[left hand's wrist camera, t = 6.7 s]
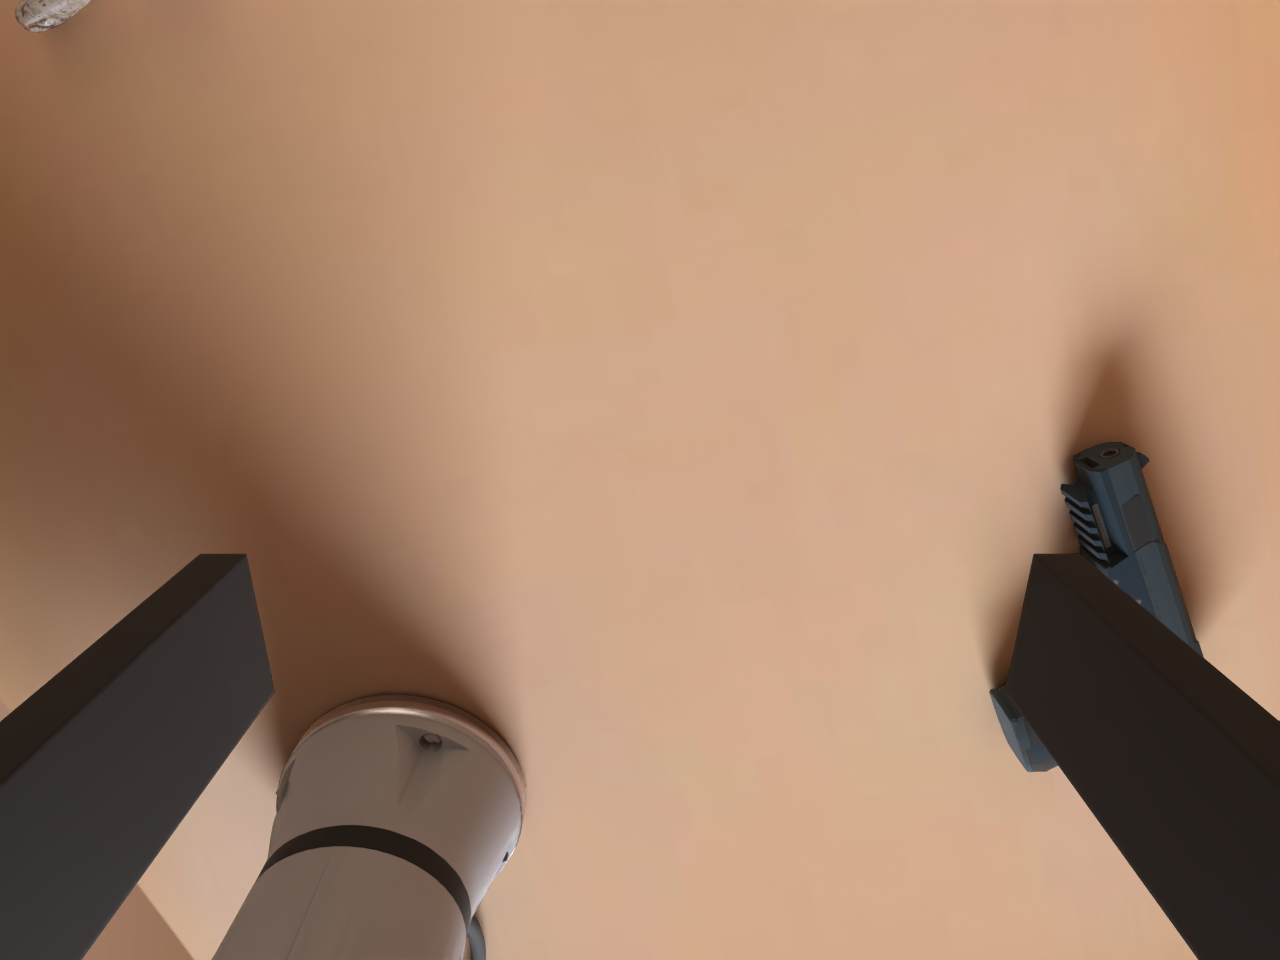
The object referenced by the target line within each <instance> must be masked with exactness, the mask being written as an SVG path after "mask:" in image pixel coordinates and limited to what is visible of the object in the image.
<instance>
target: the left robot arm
mask: <svg viewBox="0 0 1280 960" xmlns="http://www.w3.org/2000/svg"><path fill="white" fill-rule="evenodd" d="M274 692H275V691H274V686H273V681H272V676H271V671H270V666H269V661H268V657H267V652H266V647H265V642H264V637H263V632H262V628H261V623H260V618H259V613H258V608H257V603H256V599H255V594H254V589H253V584H252V579H251V574H250V570H249V565H248V560H247V555H246V554H200V555H198V556H197V557H196V558H195V559H194V560H192V561H191V562H190V563H189V564H188V565H186V566H185V567H184V568H183V569H182V570H181V571H179V572H178V573H177V574H176V575H175V576H173V577H172V578H171V579H170V580H169V581H167V582H166V583H165V584H164V585H163V586H161V587H160V588H159V589H158V590H157V591H156V592H154V593H153V594H152V595H151V596H150V597H148V598H147V599H146V600H145V601H144V602H142V603H141V604H140V605H139V606H138V607H136V608H135V609H134V610H133V611H132V612H130V613H129V614H128V615H127V616H126V617H125V618H123V619H122V620H121V621H120V622H119V623H117V624H116V625H115V626H114V627H113V628H111V629H110V630H109V631H108V632H107V633H105V634H104V635H103V636H102V637H101V638H100V639H98V640H97V641H96V642H95V643H94V644H92V645H91V646H90V647H89V648H88V649H86V650H85V651H84V652H83V653H82V654H80V655H79V656H78V657H77V658H76V659H75V660H73V661H72V662H71V663H70V664H69V665H67V666H66V667H65V668H64V669H63V670H61V671H60V672H59V673H58V674H57V675H55V676H54V677H53V678H52V679H51V680H49V681H48V682H47V683H46V684H45V685H44V686H42V687H41V688H40V689H39V690H38V691H36V692H35V693H34V694H33V695H32V696H30V697H29V698H28V699H27V700H26V701H24V702H23V703H22V704H21V705H20V706H19V707H17V708H16V709H15V710H14V711H13V712H11V713H10V714H9V715H8V716H7V717H5V718H4V719H3V720H2V721H1V722H0V960H82V958H83V957H84V956H85V954H86V953H87V952H88V950H89V949H90V947H91V946H92V945H93V943H94V942H95V940H96V939H97V938H98V936H99V935H100V933H101V932H102V931H103V929H104V928H105V927H106V925H107V924H108V922H109V921H110V920H111V918H112V917H113V915H114V914H115V913H116V911H117V910H118V909H119V907H120V906H121V904H122V903H123V901H124V900H125V899H126V897H127V896H128V895H129V893H130V892H131V890H132V889H133V888H134V886H135V885H136V884H137V882H138V881H139V879H140V878H141V877H142V875H143V874H144V872H145V871H146V870H147V868H148V867H149V865H150V864H151V863H152V861H153V860H154V859H155V857H156V856H157V854H158V853H159V852H160V850H161V849H162V847H163V846H164V845H165V843H166V842H167V841H168V839H169V838H170V836H171V835H172V834H173V832H174V831H175V829H176V828H177V827H178V825H179V824H180V822H181V821H182V820H183V818H184V817H185V816H186V814H187V813H188V811H189V810H190V809H191V807H192V806H193V804H194V803H195V802H196V800H197V799H198V797H199V796H200V795H201V793H202V792H203V791H204V789H205V788H206V786H207V785H208V784H209V782H210V781H211V779H212V778H213V777H214V775H215V774H216V773H217V771H218V770H219V768H220V767H221V766H222V764H223V763H224V761H225V760H226V759H227V757H228V756H229V754H230V753H231V752H232V750H233V749H234V748H235V746H236V745H237V743H238V742H239V741H240V739H241V738H242V736H243V735H244V734H245V732H246V731H247V729H248V728H249V727H250V725H251V724H252V723H253V721H254V720H255V718H256V717H257V716H258V714H259V713H260V711H261V710H262V709H263V707H264V706H265V705H266V703H267V702H268V700H269V699H270V698H271V696H272V695H273V693H274ZM1005 692H1006V693H1007V695H1008V696H1009V698H1010V699H1011V700H1012V702H1013V703H1014V705H1015V706H1016V707H1017V709H1018V710H1019V711H1020V713H1021V714H1022V716H1023V717H1024V718H1025V720H1026V721H1027V723H1028V724H1029V725H1030V727H1031V728H1032V729H1033V731H1034V732H1035V734H1036V735H1037V736H1038V738H1039V739H1040V741H1041V742H1042V743H1043V745H1044V746H1045V748H1046V749H1047V750H1048V752H1049V753H1050V754H1051V756H1052V757H1053V759H1054V760H1055V761H1056V763H1057V764H1058V766H1059V767H1060V768H1061V770H1062V771H1063V773H1064V774H1065V775H1066V777H1067V778H1068V779H1069V781H1070V782H1071V784H1072V785H1073V786H1074V788H1075V789H1076V791H1077V792H1078V793H1079V795H1080V796H1081V797H1082V799H1083V800H1084V802H1085V803H1086V804H1087V806H1088V807H1089V809H1090V810H1091V811H1092V813H1093V814H1094V816H1095V817H1096V818H1097V820H1098V821H1099V822H1100V824H1101V825H1102V827H1103V828H1104V829H1105V831H1106V832H1107V834H1108V835H1109V836H1110V838H1111V839H1112V841H1113V842H1114V843H1115V845H1116V846H1117V847H1118V849H1119V850H1120V852H1121V853H1122V854H1123V856H1124V857H1125V859H1126V860H1127V861H1128V863H1129V864H1130V865H1131V867H1132V868H1133V870H1134V871H1135V872H1136V874H1137V875H1138V877H1139V878H1140V879H1141V881H1142V882H1143V884H1144V885H1145V886H1146V888H1147V889H1148V890H1149V892H1150V893H1151V895H1152V896H1153V897H1154V899H1155V900H1156V902H1157V903H1158V904H1159V906H1160V907H1161V909H1162V910H1163V911H1164V913H1165V914H1166V915H1167V917H1168V918H1169V920H1170V921H1171V922H1172V924H1173V925H1174V927H1175V928H1176V929H1177V931H1178V932H1179V933H1180V935H1181V936H1182V938H1183V939H1184V940H1185V942H1186V943H1187V945H1188V946H1189V947H1190V949H1191V950H1192V952H1193V953H1194V954H1195V956H1196V957H1197V958H1198V960H1280V721H1278V720H1277V719H1276V718H1275V717H1273V716H1272V715H1271V714H1270V713H1269V712H1267V711H1266V710H1265V709H1264V708H1263V707H1261V706H1260V705H1259V704H1258V703H1257V702H1256V701H1254V700H1253V699H1252V698H1251V697H1250V696H1248V695H1247V694H1246V693H1245V692H1244V691H1242V690H1241V689H1240V688H1239V687H1238V686H1236V685H1235V684H1234V683H1233V682H1232V681H1231V680H1229V679H1228V678H1227V677H1226V676H1225V675H1223V674H1222V673H1221V672H1220V671H1219V670H1217V669H1216V668H1215V667H1214V666H1213V665H1211V664H1210V663H1209V662H1208V661H1207V660H1205V659H1204V658H1203V657H1202V656H1201V655H1200V654H1198V653H1197V652H1196V651H1195V650H1194V649H1192V648H1191V647H1190V646H1189V645H1188V644H1186V643H1185V642H1184V641H1183V640H1182V639H1180V638H1179V637H1178V636H1177V635H1176V634H1175V633H1173V632H1172V631H1171V630H1170V629H1169V628H1167V627H1166V626H1165V625H1164V624H1163V623H1161V622H1160V621H1159V620H1158V619H1157V618H1155V617H1154V616H1153V615H1152V614H1151V613H1150V612H1148V611H1147V610H1146V609H1145V608H1144V607H1142V606H1141V605H1140V604H1139V603H1138V602H1136V601H1135V600H1134V599H1133V598H1132V597H1130V596H1129V595H1128V594H1127V593H1126V592H1124V591H1123V590H1122V589H1121V588H1120V587H1119V586H1117V585H1116V584H1115V583H1114V582H1113V581H1111V580H1110V579H1109V578H1108V577H1107V576H1105V575H1104V574H1103V573H1102V572H1101V571H1099V570H1098V569H1097V568H1096V567H1095V566H1094V565H1092V564H1091V563H1090V562H1089V561H1088V560H1086V559H1085V558H1084V557H1083V556H1082V555H1080V554H1034V555H1033V560H1032V565H1031V570H1030V574H1029V579H1028V584H1027V589H1026V594H1025V599H1024V603H1023V608H1022V613H1021V618H1020V623H1019V628H1018V632H1017V637H1016V642H1015V647H1014V652H1013V657H1012V661H1011V666H1010V671H1009V676H1008V681H1007V686H1006V691H1005Z"/></svg>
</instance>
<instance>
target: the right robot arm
mask: <svg viewBox="0 0 1280 960" xmlns="http://www.w3.org/2000/svg"><path fill="white" fill-rule="evenodd" d="M276 794H277V803H276V810H277V813H276V816H275V819H274V823H273V828H272V833H271V839H270V846H269V853H268V859H267V861H266V863H265V865H264V867H263V869H262V871H261V873H260V874H259V876H258V878H257V880H256V882H255V884H254V885H253V887H252V888H251V890H250V892H249V894H248V896H247V897H246V899H245V901H244V903H243V905H242V907H241V908H240V910H239V912H238V914H237V916H236V917H235V919H234V921H233V923H232V925H231V926H230V928H229V930H228V932H227V934H226V935H225V937H224V939H223V941H222V943H221V944H220V946H219V948H218V950H217V952H216V953H215V955H214V957H213V958H212V960H462V957H463V953H464V949H465V944H466V940H467V936H468V937H469V940H470V945H471V954H472V960H486V949H485V941H484V936H483V933H482V930H481V927H480V925H479V922H478V921H477V919H476V918H475V917H474V916H473V915H474V913H475V912H476V910H477V909H478V907H479V905H480V904H481V902H482V900H483V898H484V896H485V894H486V893H487V890H488V888H489V885H490V883H491V882H492V880H493V879H494V878H495V877H496V876H497V875H498V874H499V873H500V871H501V870H502V869H503V867H504V866H505V864H506V863H507V861H508V859H509V858H510V857H511V855H512V853H513V851H514V850H515V847H516V845H517V843H518V840H519V837H520V833H521V828H522V823H523V817H524V812H525V805H526V789H525V783H524V778H523V775H522V772H521V769H520V766H519V764H518V762H517V760H516V758H515V757H514V755H513V753H512V752H511V750H510V749H509V747H508V746H507V745H506V744H505V742H504V741H503V740H502V739H501V738H500V737H499V736H498V735H497V734H496V733H495V732H494V731H493V730H492V729H491V728H489V727H488V726H487V725H486V724H484V723H483V722H482V721H480V720H479V719H477V718H476V717H474V716H472V715H471V714H469V713H467V712H465V711H463V710H461V709H459V708H457V707H454V706H452V705H449V704H447V703H444V702H441V701H437V700H434V699H429V698H425V697H419V696H412V695H398V694H397V695H378V696H371V697H366V698H361V699H358V700H354V701H351V702H348V703H346V704H343V705H341V706H339V707H337V708H335V709H333V710H331V711H329V712H328V713H326V714H325V715H323V716H322V717H321V718H319V719H318V720H317V721H316V722H315V723H314V724H313V725H312V726H311V727H310V728H309V729H308V730H307V731H306V732H305V734H304V735H303V736H302V738H301V739H300V741H299V743H298V744H297V746H296V747H295V749H294V751H293V752H292V754H291V756H290V757H289V759H288V761H287V762H286V764H285V766H284V769H283V771H282V774H281V777H280V781H279V787H278V790H277V792H276Z"/></svg>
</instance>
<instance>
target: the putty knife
mask: <svg viewBox="0 0 1280 960" xmlns="http://www.w3.org/2000/svg"><path fill="white" fill-rule="evenodd" d="M90 1H91V0H23V1H21V2H20V3H19V4H18V5H17V7H16V9H15V14H16V19H17V21H18V22H19V23H20V24H21V25H22V26H23V27H24V28H25V29H26V30H28V31H30V32H44V31H47V30H49V29H52V28H54V27H56V26H58V25H60V24H62V23H63V22H65V21H66V20H68V19H69V18H71V17H72V16H73V15H75V14H76V13H77V12H78V11H79V10H81V9H82V8H83V7H84V6H85V5H87V4H88V3H89V2H90Z"/></svg>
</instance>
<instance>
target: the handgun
mask: <svg viewBox="0 0 1280 960" xmlns="http://www.w3.org/2000/svg"><path fill="white" fill-rule="evenodd" d="M1073 459H1074V463H1075V466H1076V469H1077V472H1078V475H1079V478H1080V480H1078V481H1077V482H1076V483H1074V484H1073V485H1067V484H1061V492H1062V494H1063V495H1065V496H1066V498H1065V503H1066V506H1067V507H1068V508H1070V509H1071V510H1070V512H1069V514H1070V517H1071V519H1072V520H1073V521H1075V523H1074V528H1075V531H1076V532H1078V533H1079V536H1078V540H1079V542H1080V544H1081V545H1083V546H1082V547H1081V548H1080V551H1081V555H1082V556H1083V557H1084V558H1085V559H1086V560H1088V561H1089V562H1090V563H1091V564H1092V565H1094V566H1095V567H1096V568H1097V569H1098V570H1099V571H1101V572H1102V573H1103V574H1104V575H1105V576H1107V577H1108V578H1109V579H1110V580H1111V581H1113V582H1114V583H1115V584H1116V585H1117V586H1119V587H1120V588H1121V589H1122V590H1123V591H1124V592H1126V593H1127V594H1128V595H1129V596H1130V597H1132V598H1133V599H1134V600H1135V601H1136V602H1138V603H1139V604H1140V605H1141V606H1142V607H1144V608H1145V609H1146V610H1147V611H1148V612H1150V613H1151V614H1152V615H1153V616H1154V617H1155V618H1157V619H1158V620H1159V621H1160V622H1161V623H1163V624H1164V625H1165V626H1166V627H1167V628H1169V629H1170V630H1171V631H1172V632H1173V633H1175V634H1176V635H1177V636H1178V637H1179V638H1180V639H1182V640H1183V641H1184V642H1185V643H1186V644H1188V645H1189V646H1190V647H1191V648H1192V649H1194V650H1195V651H1196V652H1197V653H1198V654H1200V655H1201V656H1202V657H1203V654H1202V651H1201V648H1200V644H1199V642H1198V641H1197V640H1196V637H1195V634H1194V631H1193V628H1192V624H1191V621H1190V618H1189V615H1188V612H1187V608H1186V605H1185V602H1184V599H1183V596H1182V593H1181V589H1180V586H1179V583H1178V580H1177V577H1176V574H1175V570H1174V567H1173V564H1172V561H1171V558H1170V555H1169V551H1168V548H1167V545H1166V544H1165V543H1164V540H1163V536H1162V533H1161V530H1160V527H1159V524H1158V521H1157V517H1156V514H1155V511H1154V508H1153V505H1152V502H1151V498H1150V495H1149V492H1148V489H1147V486H1146V483H1145V479H1144V476H1143V473H1142V470H1141V469H1142V468H1143V467H1144V466H1145V465H1146V464H1147V463H1148V462H1149V459H1148V458H1147V457H1146V456H1145V455H1143V454H1142V453H1140V452H1136V451H1135V449H1134V448H1132V447H1130V446H1128V445H1126V444H1124V443H1122V442H1107V443H1103V444H1100V445H1097V446H1095V447H1092V448H1090V449H1088V450H1085V451H1083V452H1081V453H1079V454H1076V455H1074V456H1073ZM1203 658H1204V657H1203ZM1006 686H1007V683H1006V684H1005V685H1004V686H1002V687H1000V688H999V689H997V690H995V689H991V690H990V695H991V698H992V701H993V704H994V708H995V710H996V713H997V716H998V719H999V722H1000V725H1001V727H1002V730H1003V732H1004V735H1005V737H1006V739H1007V742H1008V744H1009V745H1010V747H1011V749H1012V750H1013V752H1014V753H1015V755H1016V756H1017V758H1018V759H1019V761H1020V762H1021V764H1022V765H1023V767H1024V768H1025V769H1026V770H1027V771H1028V772H1044V771H1048V770H1050V769H1052V768H1054V767H1056V766H1058V764H1057V763H1056V761H1055V760H1054V759H1053V757H1052V756H1051V754H1050V753H1049V752H1048V750H1047V749H1046V748H1045V746H1044V745H1043V743H1042V742H1041V741H1040V739H1039V738H1038V736H1037V735H1036V734H1035V732H1034V731H1033V729H1032V728H1031V727H1030V725H1029V724H1028V723H1027V721H1026V720H1025V718H1024V717H1023V716H1022V714H1021V713H1020V711H1019V710H1018V709H1017V707H1016V706H1015V705H1014V703H1013V702H1012V700H1011V699H1010V698H1009V696H1008V695H1007V693H1006V692H1005V691H1006Z"/></svg>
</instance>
